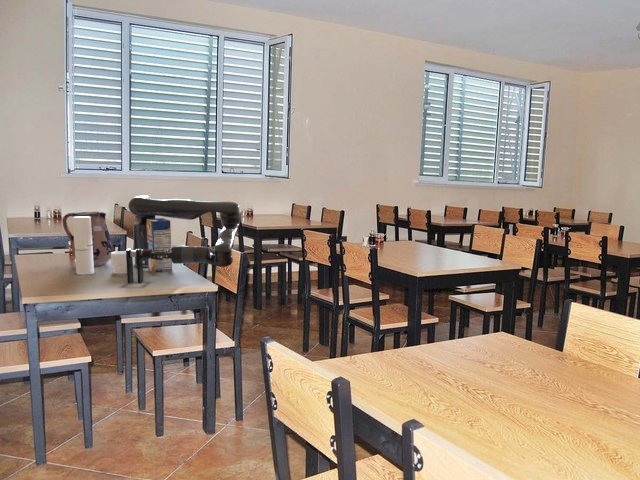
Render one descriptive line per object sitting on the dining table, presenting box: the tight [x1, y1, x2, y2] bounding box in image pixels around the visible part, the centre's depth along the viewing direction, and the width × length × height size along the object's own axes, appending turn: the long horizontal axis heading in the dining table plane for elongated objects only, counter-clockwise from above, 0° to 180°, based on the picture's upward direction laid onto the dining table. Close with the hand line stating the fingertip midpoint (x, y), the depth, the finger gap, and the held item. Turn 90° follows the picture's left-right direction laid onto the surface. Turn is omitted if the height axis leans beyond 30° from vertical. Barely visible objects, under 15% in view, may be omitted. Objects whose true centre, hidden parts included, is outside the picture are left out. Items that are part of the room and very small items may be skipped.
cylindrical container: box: [72, 216, 95, 276], centre depth 286 cm, size 7×7×25 cm
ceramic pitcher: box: [62, 211, 114, 267], centre depth 306 cm, size 18×21×25 cm
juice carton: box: [146, 217, 173, 274], centre depth 290 cm, size 12×8×24 cm, turn 34°
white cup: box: [110, 250, 127, 275], centre depth 285 cm, size 8×8×10 cm
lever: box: [130, 249, 153, 258], centre depth 268 cm, size 14×7×2 cm, turn 4°
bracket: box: [125, 248, 145, 284], centre depth 264 cm, size 10×8×15 cm
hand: (142, 254), depth 274 cm, fingers closed, pressing on lever
